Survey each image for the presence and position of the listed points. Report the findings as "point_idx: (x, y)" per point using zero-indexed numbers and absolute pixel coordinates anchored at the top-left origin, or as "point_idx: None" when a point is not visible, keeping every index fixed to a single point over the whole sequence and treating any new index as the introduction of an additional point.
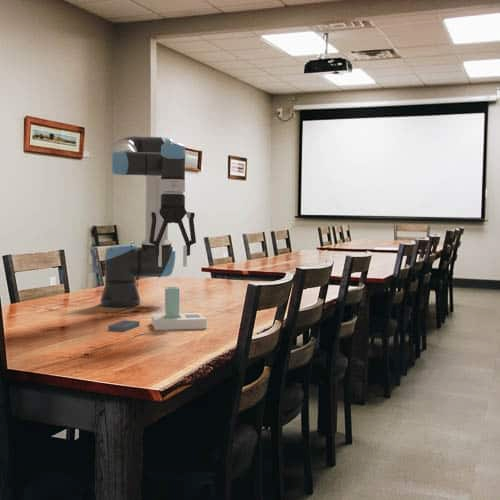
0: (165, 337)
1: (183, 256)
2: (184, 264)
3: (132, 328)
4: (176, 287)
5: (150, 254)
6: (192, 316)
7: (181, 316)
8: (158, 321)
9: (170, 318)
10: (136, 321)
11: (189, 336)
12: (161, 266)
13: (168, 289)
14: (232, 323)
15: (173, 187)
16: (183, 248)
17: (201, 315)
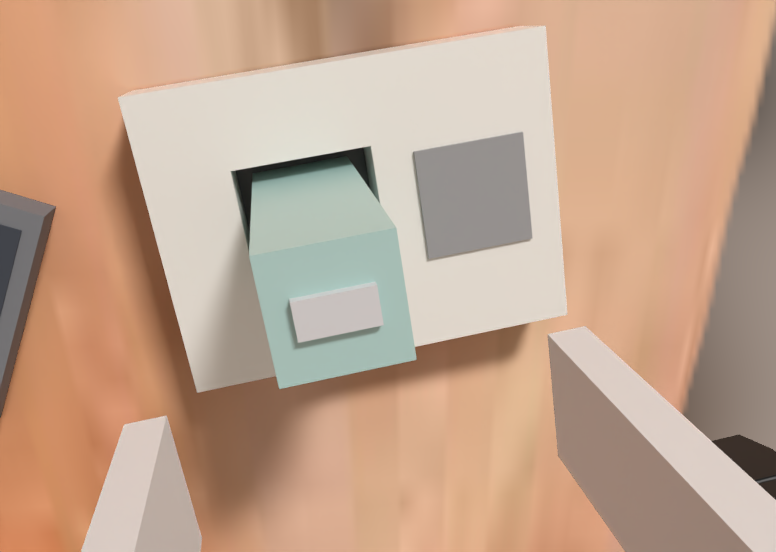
0: (294, 542)
1: (622, 445)
2: (573, 474)
3: (26, 316)
4: (383, 270)
5: None
6: (473, 233)
7: (388, 212)
8: (224, 384)
9: None
10: (23, 231)
11: (429, 505)
12: (200, 543)
13: (299, 382)
14: (742, 62)
15: None
16: (719, 544)
17: (544, 160)
